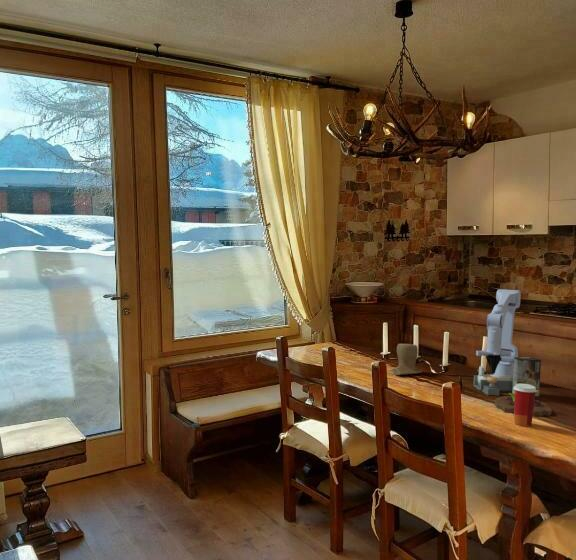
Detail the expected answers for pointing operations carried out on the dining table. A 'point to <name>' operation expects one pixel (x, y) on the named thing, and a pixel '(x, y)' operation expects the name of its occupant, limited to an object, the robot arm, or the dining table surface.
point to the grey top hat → (406, 360)
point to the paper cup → (524, 404)
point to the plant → (508, 405)
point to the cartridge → (484, 376)
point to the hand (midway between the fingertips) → (492, 372)
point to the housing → (498, 386)
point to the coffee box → (527, 371)
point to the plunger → (492, 381)
